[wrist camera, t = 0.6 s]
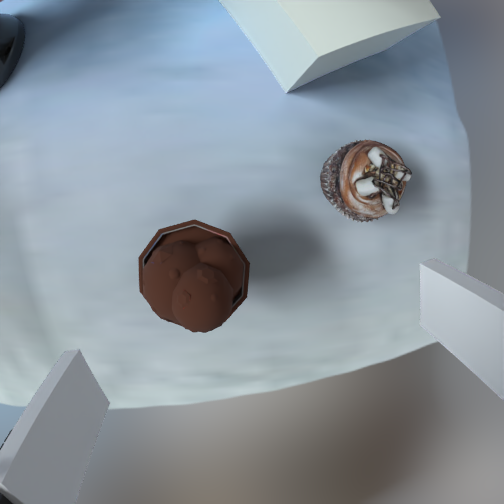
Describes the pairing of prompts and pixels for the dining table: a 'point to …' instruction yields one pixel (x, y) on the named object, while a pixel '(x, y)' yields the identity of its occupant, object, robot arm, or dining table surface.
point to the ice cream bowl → (193, 275)
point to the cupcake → (364, 180)
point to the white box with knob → (324, 32)
